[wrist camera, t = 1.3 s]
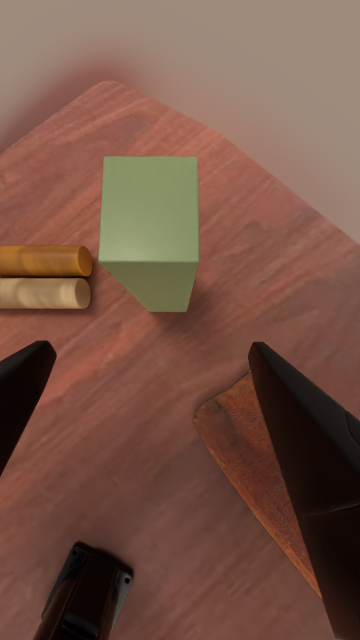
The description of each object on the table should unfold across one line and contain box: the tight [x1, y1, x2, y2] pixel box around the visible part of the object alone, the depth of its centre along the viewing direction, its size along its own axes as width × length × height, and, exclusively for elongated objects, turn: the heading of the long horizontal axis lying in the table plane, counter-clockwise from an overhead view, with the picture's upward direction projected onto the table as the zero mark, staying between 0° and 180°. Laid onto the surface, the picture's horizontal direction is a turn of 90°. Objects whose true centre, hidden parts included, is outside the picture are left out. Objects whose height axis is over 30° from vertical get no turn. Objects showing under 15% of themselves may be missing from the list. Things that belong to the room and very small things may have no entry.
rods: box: [0, 245, 93, 309], centre depth 19 cm, size 7×11×3 cm, turn 90°
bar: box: [98, 156, 199, 312], centre depth 15 cm, size 5×4×13 cm
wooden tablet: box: [193, 370, 323, 600], centre depth 18 cm, size 27×10×2 cm, turn 37°
